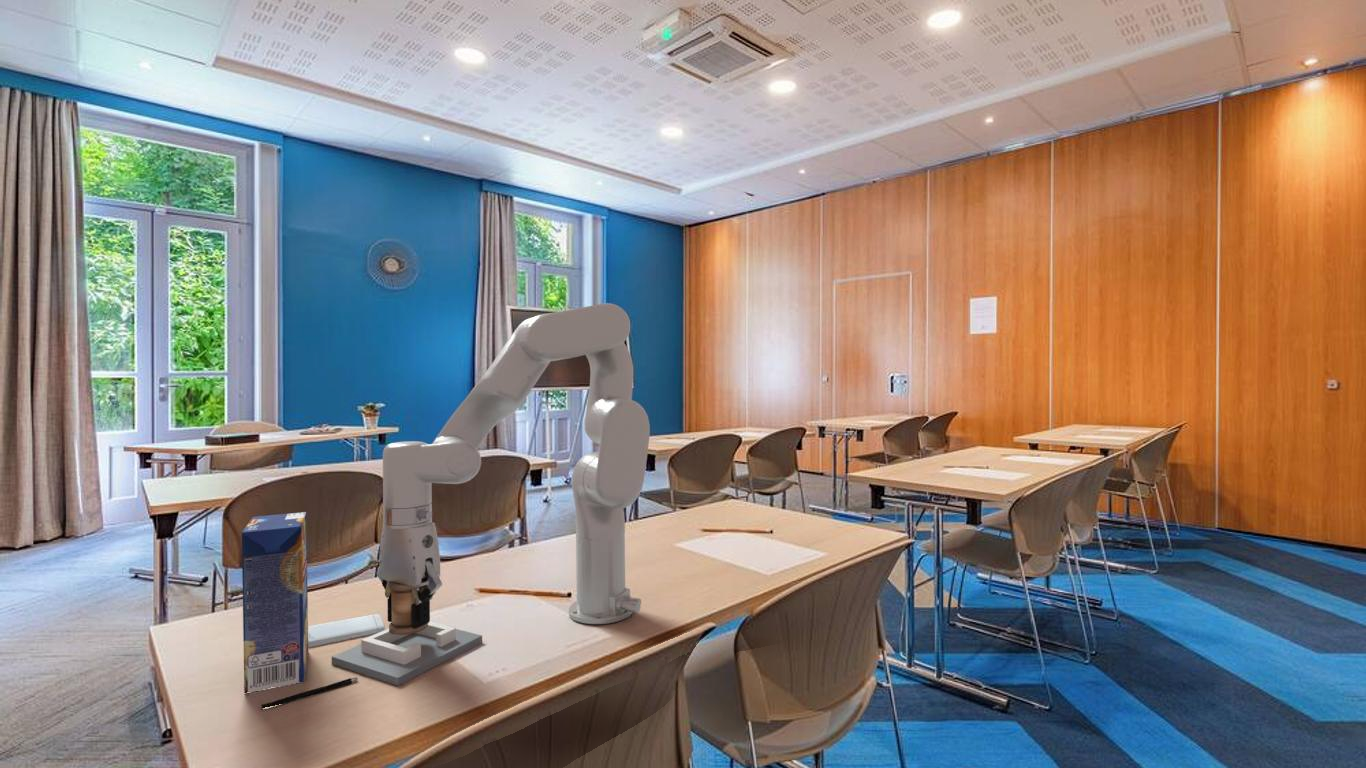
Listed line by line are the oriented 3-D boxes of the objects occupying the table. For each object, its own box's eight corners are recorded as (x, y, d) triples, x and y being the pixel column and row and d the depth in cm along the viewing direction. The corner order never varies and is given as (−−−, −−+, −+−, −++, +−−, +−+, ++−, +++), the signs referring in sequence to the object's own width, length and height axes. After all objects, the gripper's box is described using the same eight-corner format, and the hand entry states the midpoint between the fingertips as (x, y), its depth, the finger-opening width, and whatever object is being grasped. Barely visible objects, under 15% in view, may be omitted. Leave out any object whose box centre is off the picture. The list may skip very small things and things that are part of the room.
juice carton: (303, 682, 94) (301, 526, 94) (244, 694, 91) (241, 532, 90) (308, 652, 105) (306, 511, 104) (255, 662, 101) (253, 516, 101)
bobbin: (435, 624, 105) (435, 577, 105) (405, 637, 100) (405, 588, 100) (411, 618, 108) (411, 572, 108) (381, 630, 103) (380, 583, 103)
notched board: (482, 642, 108) (482, 624, 108) (397, 685, 93) (397, 664, 93) (419, 626, 115) (419, 609, 115) (331, 663, 100) (331, 644, 100)
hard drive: (305, 641, 106) (384, 625, 113) (304, 626, 113) (379, 611, 120) (305, 651, 106) (384, 634, 113) (304, 634, 113) (379, 620, 120)
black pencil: (356, 681, 95) (356, 675, 95) (358, 684, 94) (358, 677, 94) (261, 709, 87) (261, 702, 87) (262, 713, 86) (262, 706, 86)
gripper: (461, 515, 103) (462, 623, 103) (393, 506, 111) (394, 606, 111) (424, 525, 97) (425, 640, 97) (354, 514, 104) (355, 621, 105)
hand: (408, 621), depth 104 cm, fingers closed on bobbin, 5 cm apart
